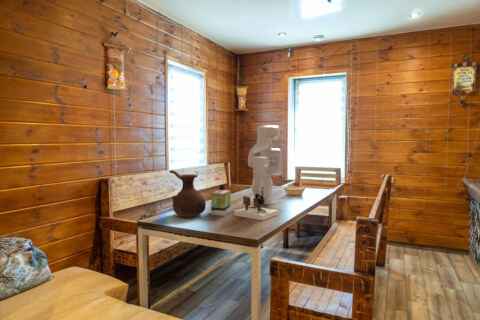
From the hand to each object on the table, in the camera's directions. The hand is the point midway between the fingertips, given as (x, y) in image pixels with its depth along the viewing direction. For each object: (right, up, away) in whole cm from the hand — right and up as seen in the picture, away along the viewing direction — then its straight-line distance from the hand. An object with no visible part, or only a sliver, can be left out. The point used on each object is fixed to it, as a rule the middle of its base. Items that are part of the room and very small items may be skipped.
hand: (259, 203), depth 205 cm
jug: (-46, -8, +1) cm, 46 cm away
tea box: (-25, -8, +8) cm, 27 cm away
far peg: (-5, -4, +5) cm, 8 cm away
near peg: (+2, -5, -3) cm, 6 cm away
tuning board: (-2, -8, +2) cm, 8 cm away
